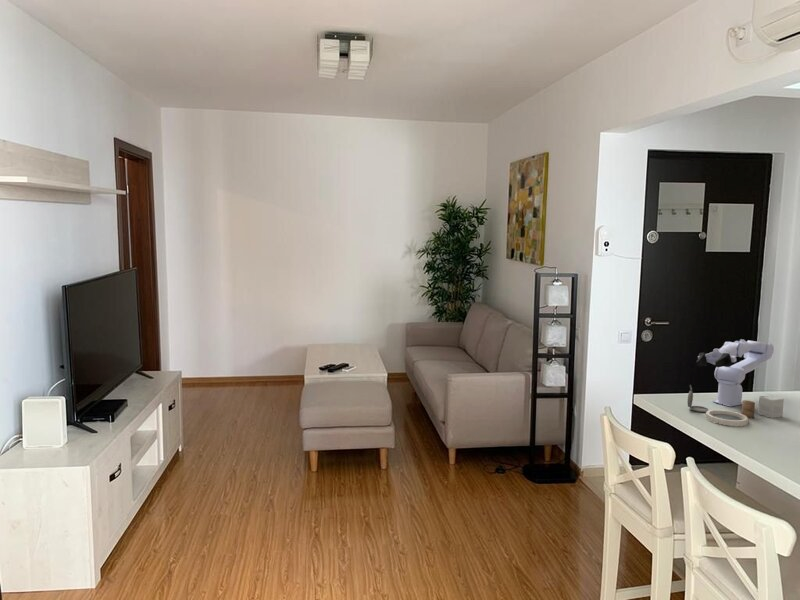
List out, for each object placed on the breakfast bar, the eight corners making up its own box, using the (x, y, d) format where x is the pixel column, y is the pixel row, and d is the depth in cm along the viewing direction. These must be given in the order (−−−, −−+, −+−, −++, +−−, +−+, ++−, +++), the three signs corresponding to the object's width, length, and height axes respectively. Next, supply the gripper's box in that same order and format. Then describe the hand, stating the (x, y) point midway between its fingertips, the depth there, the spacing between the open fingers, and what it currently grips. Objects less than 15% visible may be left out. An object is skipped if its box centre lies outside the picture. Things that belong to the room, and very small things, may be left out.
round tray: (720, 412, 236) (720, 407, 236) (755, 422, 224) (755, 417, 224) (698, 417, 230) (698, 412, 230) (732, 428, 218) (733, 423, 217)
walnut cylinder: (745, 414, 235) (746, 399, 234) (756, 417, 231) (757, 402, 230) (738, 415, 233) (739, 401, 232) (749, 419, 229) (750, 404, 228)
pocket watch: (711, 413, 236) (713, 389, 235) (690, 412, 236) (691, 388, 235) (701, 407, 244) (703, 383, 243) (681, 406, 244) (682, 383, 243)
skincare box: (782, 417, 232) (784, 398, 231) (770, 418, 230) (772, 400, 229) (769, 412, 238) (770, 394, 237) (757, 413, 236) (758, 395, 235)
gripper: (704, 345, 249) (687, 354, 241) (739, 346, 237) (723, 355, 229) (706, 361, 249) (690, 370, 242) (742, 362, 237) (726, 372, 230)
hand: (706, 364), depth 235 cm, fingers open, 7 cm apart
